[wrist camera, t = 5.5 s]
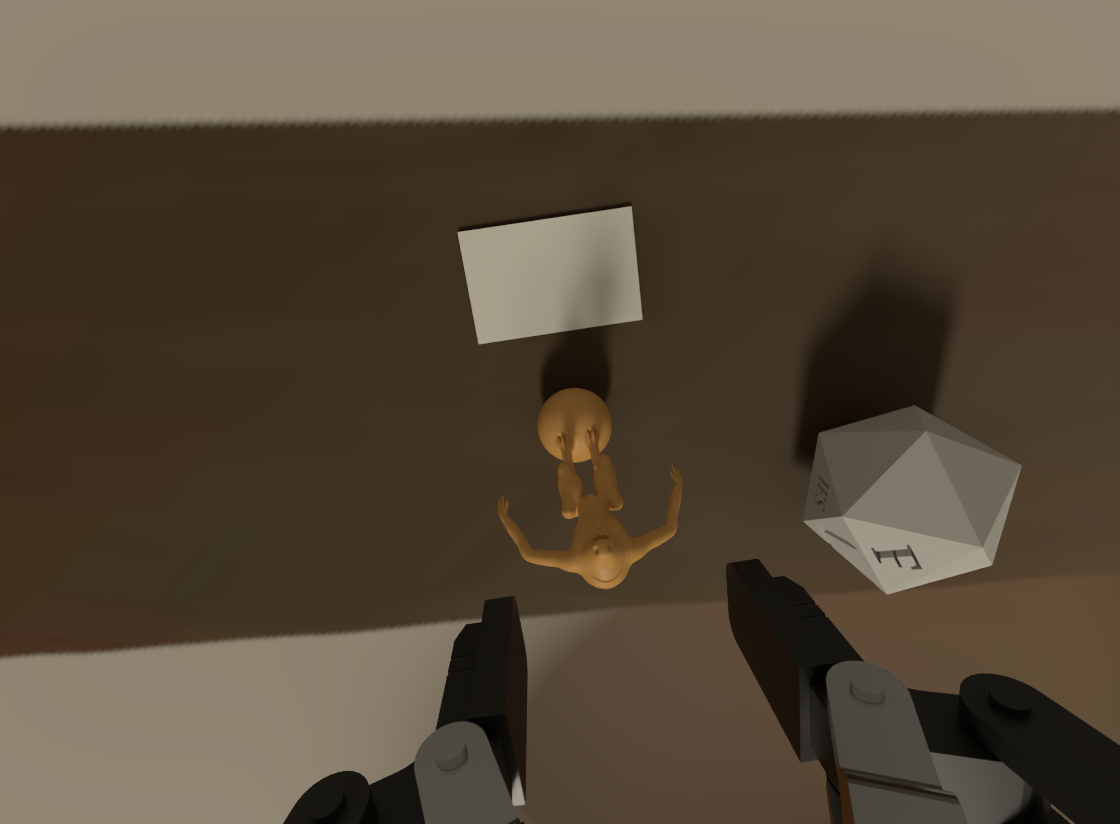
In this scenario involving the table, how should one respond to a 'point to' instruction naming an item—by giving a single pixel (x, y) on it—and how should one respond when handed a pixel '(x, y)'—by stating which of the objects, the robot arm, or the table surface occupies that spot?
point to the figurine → (598, 539)
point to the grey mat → (552, 275)
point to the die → (909, 498)
